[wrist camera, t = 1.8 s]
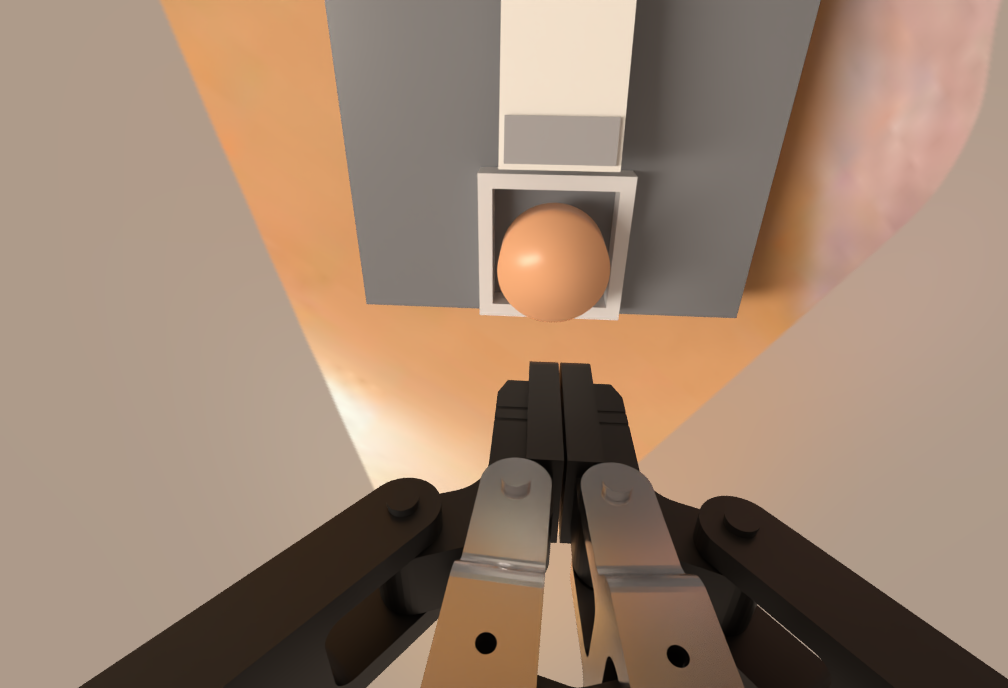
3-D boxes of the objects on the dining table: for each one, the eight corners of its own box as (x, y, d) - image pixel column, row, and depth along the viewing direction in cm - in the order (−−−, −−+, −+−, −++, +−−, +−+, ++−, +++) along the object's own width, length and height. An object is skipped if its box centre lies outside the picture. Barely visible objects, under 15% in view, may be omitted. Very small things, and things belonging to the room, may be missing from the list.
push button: (610, 204, 20) (616, 218, 19) (599, 303, 23) (603, 324, 21) (501, 201, 21) (497, 215, 19) (500, 299, 23) (497, 320, 21)
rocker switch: (635, -50, 17) (643, -68, 16) (615, 171, 19) (621, 172, 18) (504, -50, 17) (501, -67, 16) (500, 168, 20) (497, 169, 18)
